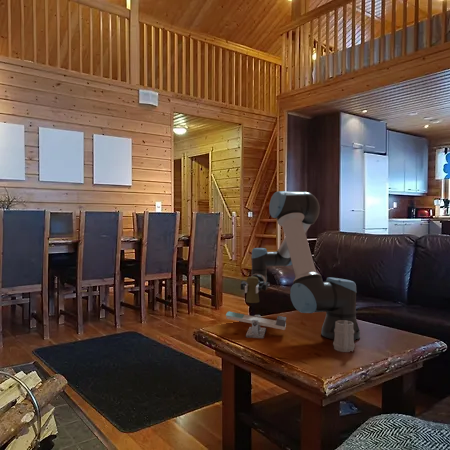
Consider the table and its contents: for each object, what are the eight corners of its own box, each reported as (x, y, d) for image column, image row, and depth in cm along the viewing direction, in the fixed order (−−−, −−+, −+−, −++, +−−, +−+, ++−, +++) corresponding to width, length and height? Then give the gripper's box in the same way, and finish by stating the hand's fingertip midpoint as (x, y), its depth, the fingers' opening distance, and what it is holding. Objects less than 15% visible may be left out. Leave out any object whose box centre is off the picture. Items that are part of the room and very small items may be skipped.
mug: (353, 346, 158) (354, 314, 158) (357, 357, 147) (358, 322, 146) (332, 345, 160) (332, 313, 159) (334, 355, 148) (335, 321, 148)
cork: (262, 302, 185) (262, 276, 185) (251, 303, 182) (251, 277, 182) (253, 299, 190) (253, 275, 190) (242, 301, 187) (243, 276, 187)
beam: (285, 325, 175) (287, 317, 175) (284, 330, 168) (286, 321, 168) (227, 314, 180) (229, 305, 179) (224, 318, 173) (226, 309, 173)
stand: (265, 330, 179) (266, 314, 179) (263, 338, 168) (263, 321, 167) (249, 329, 181) (249, 313, 180) (245, 337, 169) (246, 320, 169)
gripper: (274, 290, 202) (271, 299, 179) (239, 289, 205) (231, 297, 182) (274, 274, 202) (271, 281, 179) (239, 273, 205) (231, 280, 182)
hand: (251, 289), depth 181 cm, fingers closed on cork, 4 cm apart
